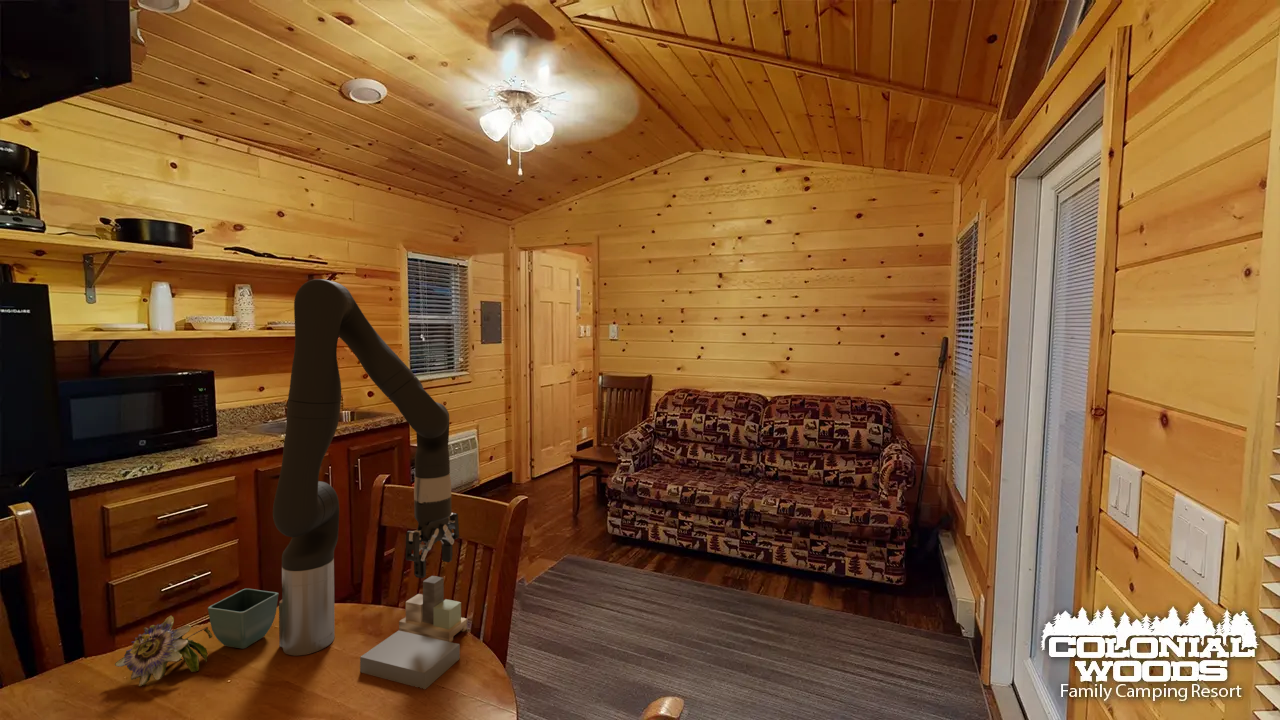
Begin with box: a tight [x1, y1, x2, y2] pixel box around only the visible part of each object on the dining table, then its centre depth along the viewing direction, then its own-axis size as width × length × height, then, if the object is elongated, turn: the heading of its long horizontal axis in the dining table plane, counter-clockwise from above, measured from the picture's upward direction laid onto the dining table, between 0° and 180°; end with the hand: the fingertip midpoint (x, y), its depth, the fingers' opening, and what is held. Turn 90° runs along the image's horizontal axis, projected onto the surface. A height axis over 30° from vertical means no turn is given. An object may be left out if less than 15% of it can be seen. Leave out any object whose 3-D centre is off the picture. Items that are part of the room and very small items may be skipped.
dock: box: [359, 629, 461, 690], centre depth 107 cm, size 15×10×3 cm, turn 72°
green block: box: [433, 598, 462, 629], centre depth 118 cm, size 4×4×4 cm
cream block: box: [405, 593, 423, 623], centre depth 121 cm, size 4×4×4 cm
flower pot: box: [207, 588, 280, 650], centre depth 114 cm, size 9×9×9 cm
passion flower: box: [114, 615, 213, 687], centre depth 104 cm, size 11×11×12 cm
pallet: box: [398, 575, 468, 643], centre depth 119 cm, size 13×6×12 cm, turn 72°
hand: (434, 569), depth 119 cm, fingers open, 8 cm apart
